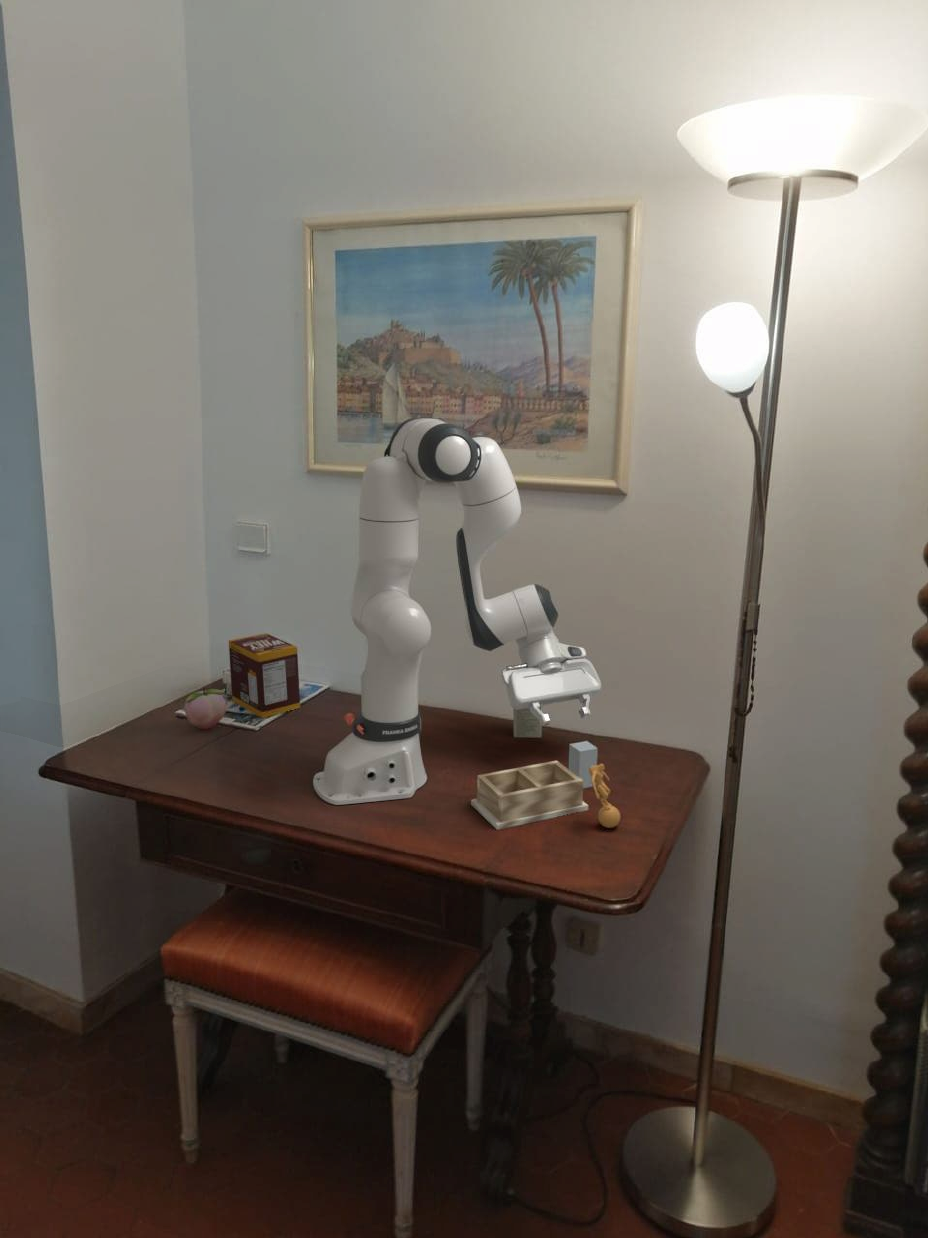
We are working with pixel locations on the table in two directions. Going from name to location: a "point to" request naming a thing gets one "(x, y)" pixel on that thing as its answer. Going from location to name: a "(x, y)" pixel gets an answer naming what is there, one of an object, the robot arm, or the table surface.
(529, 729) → the skincare box
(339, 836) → the table surface
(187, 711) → the decorative fruit
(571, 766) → the grey peg
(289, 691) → the supplement box
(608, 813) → the figurine
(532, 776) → the wooden divided tray
